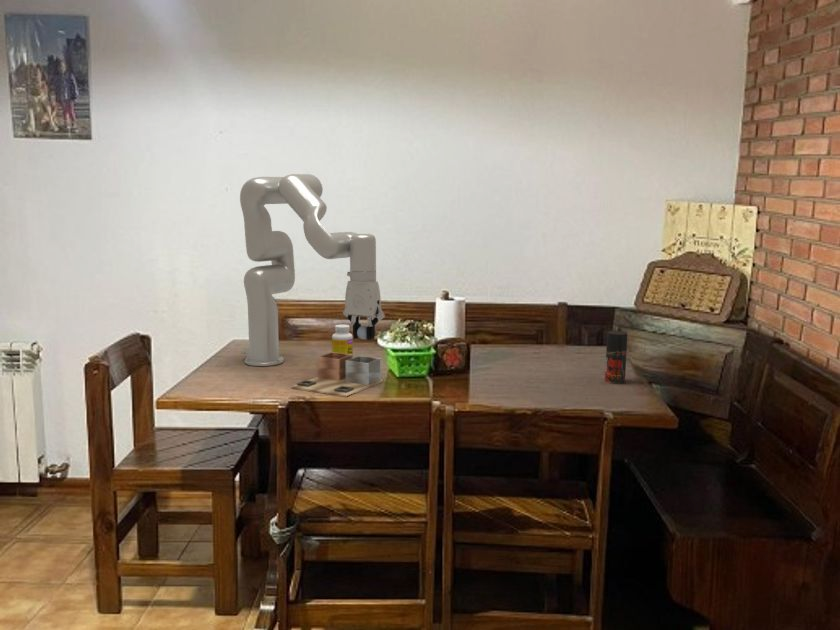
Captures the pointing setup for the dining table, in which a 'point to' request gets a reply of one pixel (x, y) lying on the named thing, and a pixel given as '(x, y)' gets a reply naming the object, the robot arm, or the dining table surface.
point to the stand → (343, 374)
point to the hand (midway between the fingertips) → (363, 337)
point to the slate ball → (362, 332)
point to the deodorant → (616, 357)
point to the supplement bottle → (342, 340)
